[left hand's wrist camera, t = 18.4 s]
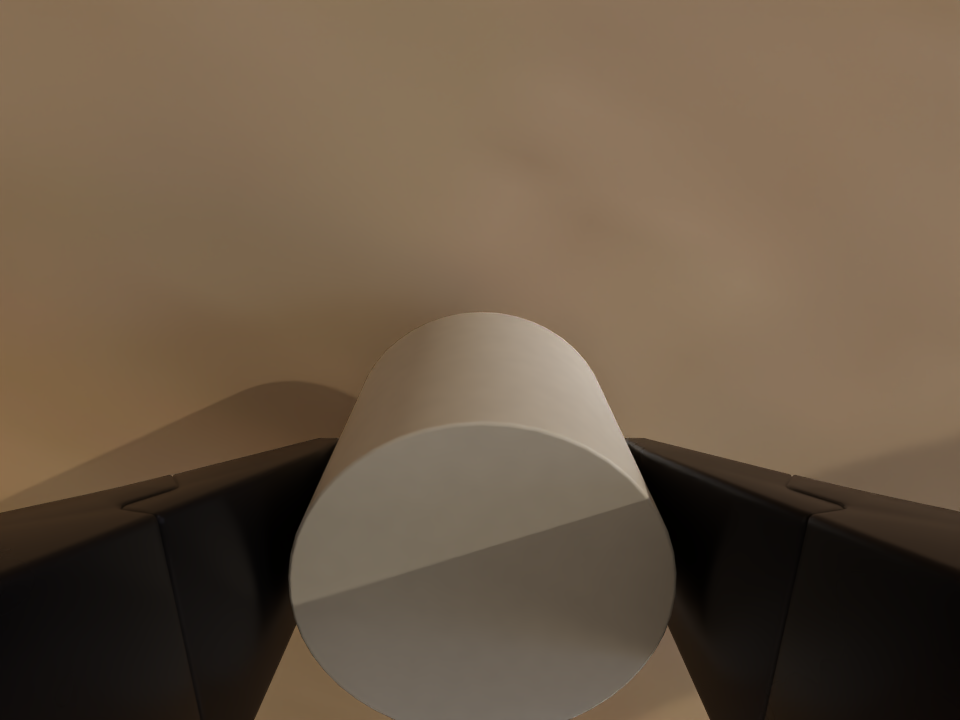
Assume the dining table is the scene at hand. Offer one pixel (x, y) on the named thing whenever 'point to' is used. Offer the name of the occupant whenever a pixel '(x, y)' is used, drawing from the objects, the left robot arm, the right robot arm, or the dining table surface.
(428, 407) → the canister
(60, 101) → the dining table surface
